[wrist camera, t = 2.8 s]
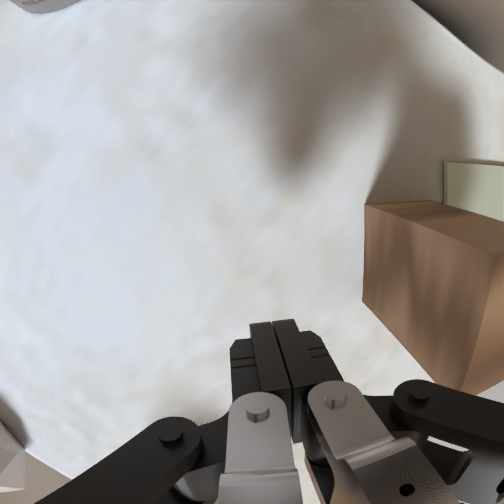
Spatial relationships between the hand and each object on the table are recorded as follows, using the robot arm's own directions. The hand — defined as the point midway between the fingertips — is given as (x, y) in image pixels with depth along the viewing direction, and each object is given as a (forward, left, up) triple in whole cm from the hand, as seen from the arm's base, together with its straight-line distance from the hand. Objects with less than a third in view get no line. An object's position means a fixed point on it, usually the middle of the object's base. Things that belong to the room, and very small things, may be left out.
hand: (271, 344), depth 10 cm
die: (+16, -28, -7) cm, 33 cm away
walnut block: (0, +9, -7) cm, 12 cm away
